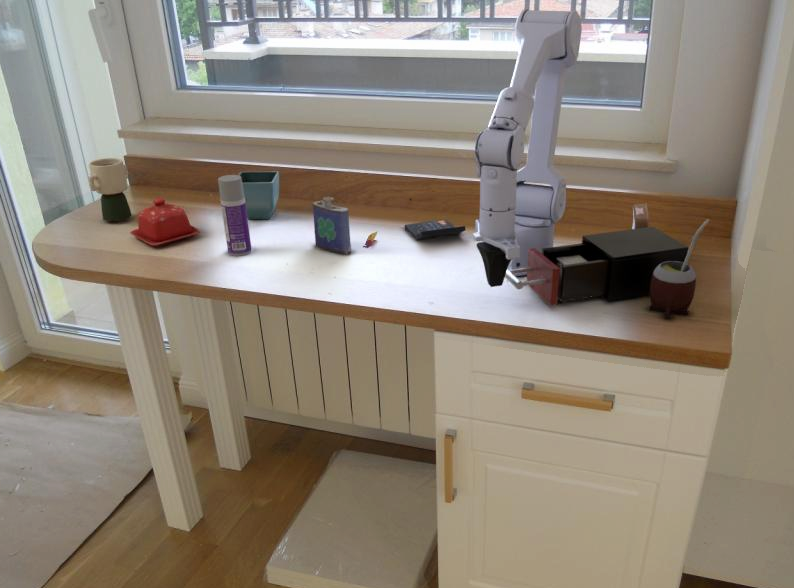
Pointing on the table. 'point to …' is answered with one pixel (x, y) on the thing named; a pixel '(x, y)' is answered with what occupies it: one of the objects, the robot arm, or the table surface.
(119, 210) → the character mug
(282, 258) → the table surface
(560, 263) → the steel block
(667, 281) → the mate gourd
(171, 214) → the butter dish
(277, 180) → the flower pot
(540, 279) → the drawer
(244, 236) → the container
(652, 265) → the black storage chest
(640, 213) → the tin
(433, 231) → the calculator
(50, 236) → the table surface
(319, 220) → the flask
